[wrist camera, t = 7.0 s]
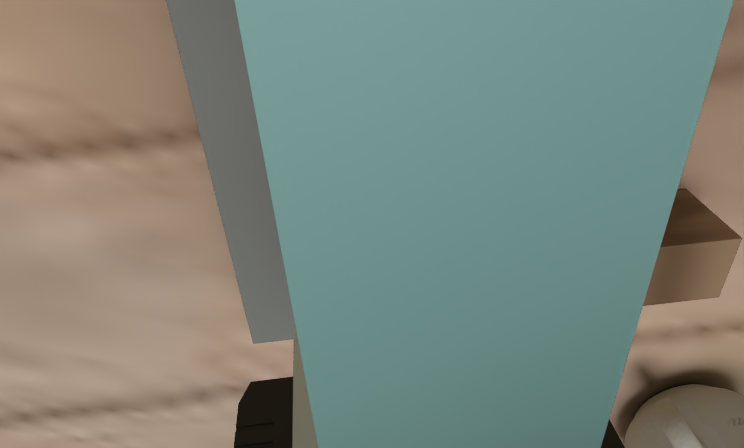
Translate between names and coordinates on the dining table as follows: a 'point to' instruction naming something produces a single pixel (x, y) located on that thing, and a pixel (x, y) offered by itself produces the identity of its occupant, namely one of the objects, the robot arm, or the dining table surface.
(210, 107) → the cap board
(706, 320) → the dining table surface
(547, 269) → the slat
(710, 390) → the teacup
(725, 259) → the block
